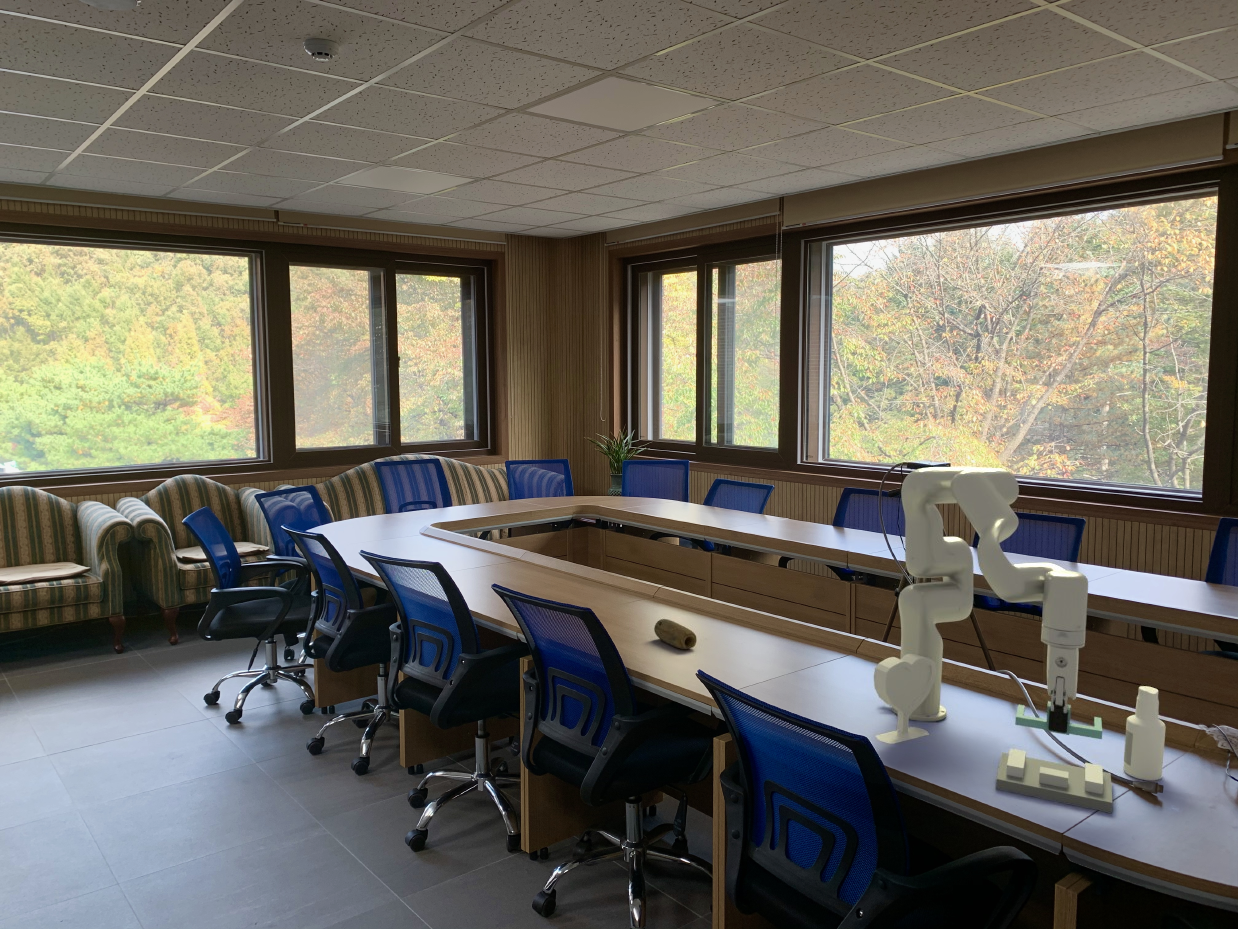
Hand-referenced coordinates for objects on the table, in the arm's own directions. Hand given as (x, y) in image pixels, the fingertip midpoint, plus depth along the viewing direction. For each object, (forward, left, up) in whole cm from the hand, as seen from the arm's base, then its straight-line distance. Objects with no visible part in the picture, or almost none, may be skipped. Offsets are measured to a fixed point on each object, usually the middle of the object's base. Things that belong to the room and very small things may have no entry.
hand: (1057, 727), depth 171 cm
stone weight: (-104, +50, -14) cm, 116 cm away
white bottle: (+16, +18, -13) cm, 28 cm away
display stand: (0, +3, -13) cm, 14 cm away
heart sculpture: (-31, +14, -13) cm, 37 cm away
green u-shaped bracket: (0, +3, -1) cm, 3 cm away
